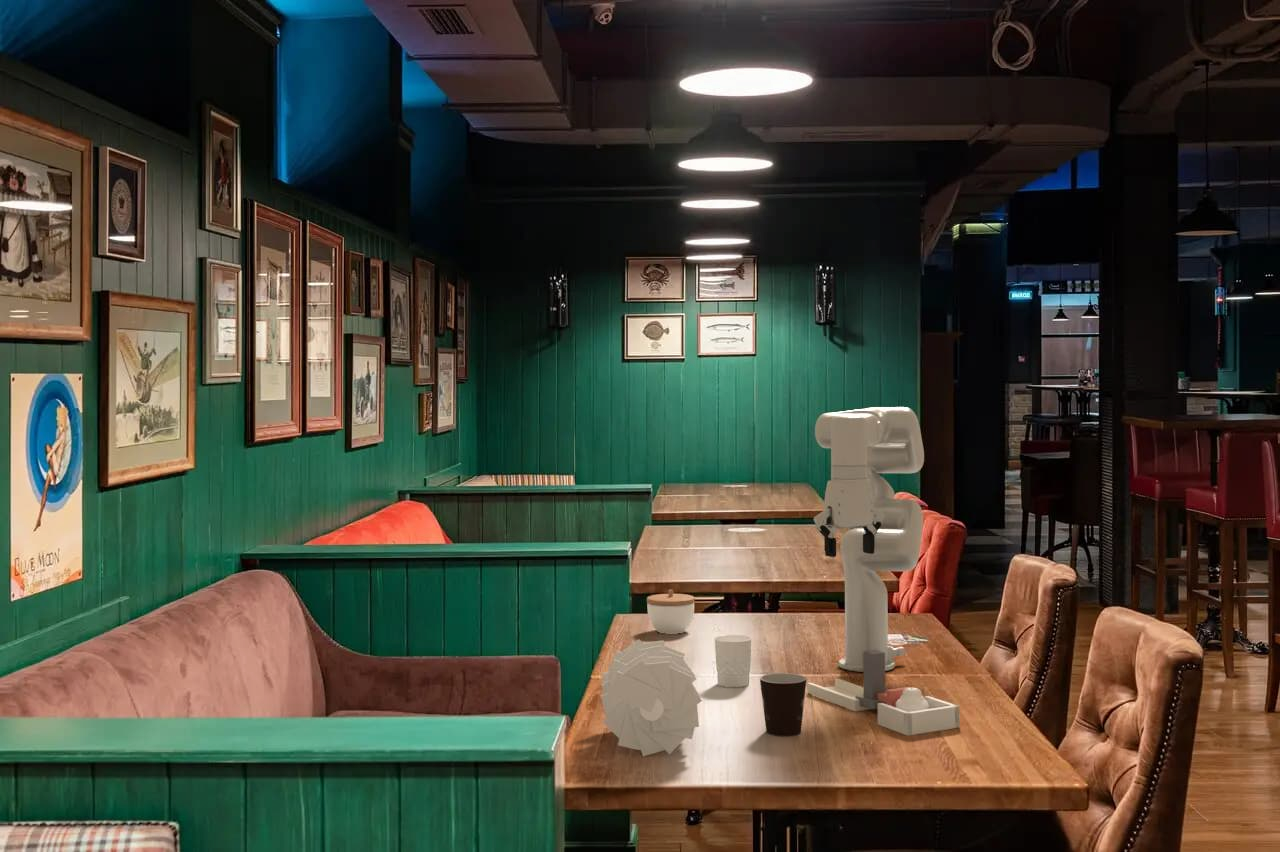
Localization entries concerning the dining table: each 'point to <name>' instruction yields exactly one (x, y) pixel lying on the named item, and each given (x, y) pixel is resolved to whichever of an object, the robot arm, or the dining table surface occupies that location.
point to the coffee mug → (783, 702)
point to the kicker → (876, 682)
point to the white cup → (733, 660)
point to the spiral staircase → (650, 698)
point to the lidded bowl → (670, 612)
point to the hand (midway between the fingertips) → (849, 554)
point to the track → (840, 694)
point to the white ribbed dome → (912, 700)
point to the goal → (920, 717)
